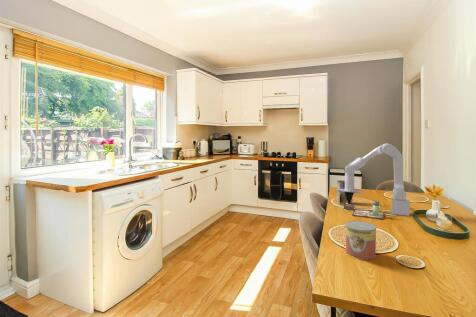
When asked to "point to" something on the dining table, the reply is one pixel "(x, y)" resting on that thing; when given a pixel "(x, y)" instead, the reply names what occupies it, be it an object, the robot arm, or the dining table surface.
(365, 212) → the colouring board
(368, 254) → the canned food
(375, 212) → the sage marker
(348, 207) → the button housing
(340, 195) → the coffee box
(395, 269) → the dining table surface
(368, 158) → the robot arm
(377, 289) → the dining table surface
